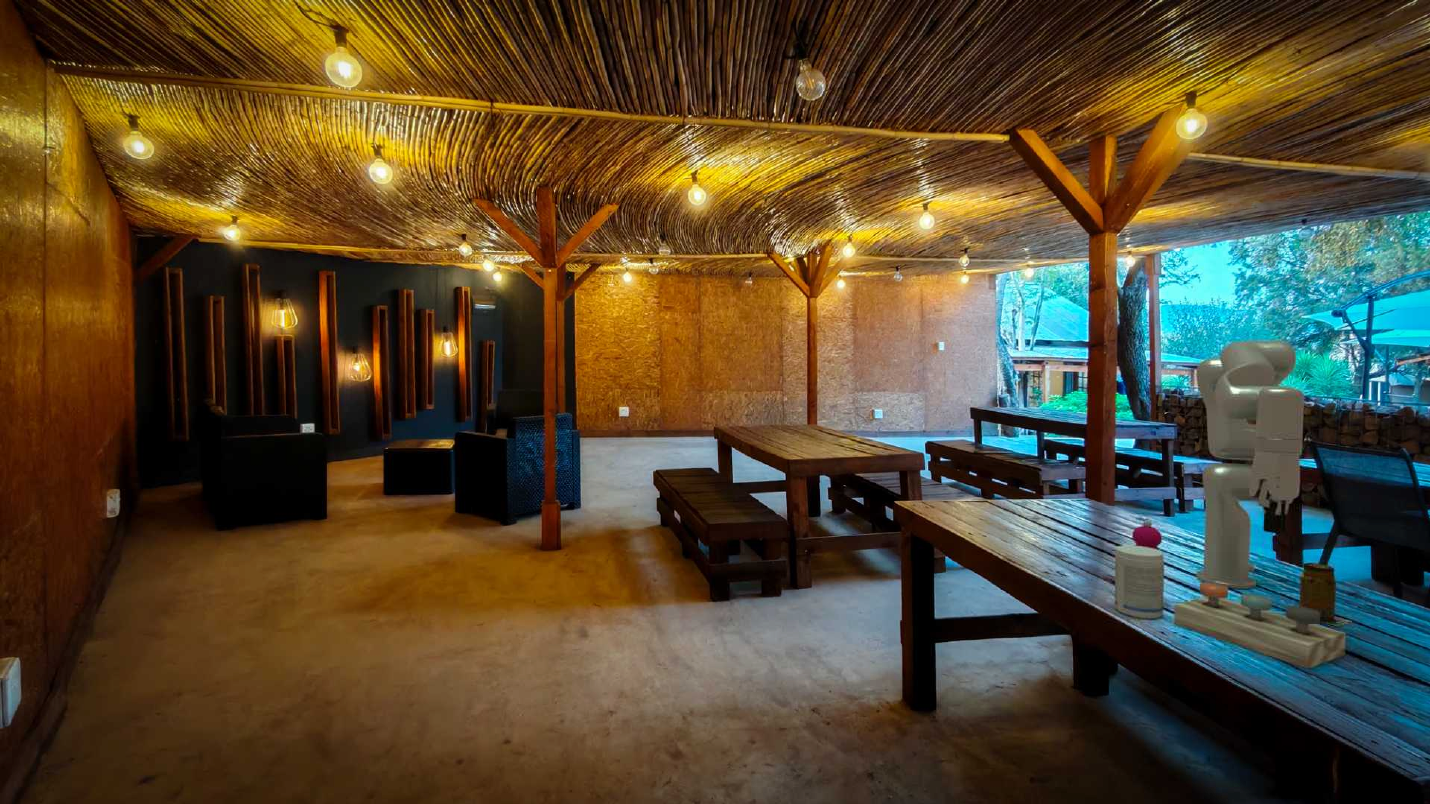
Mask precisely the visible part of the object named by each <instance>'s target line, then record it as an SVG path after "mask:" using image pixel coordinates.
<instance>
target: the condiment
mask: <svg viewBox="0 0 1430 804" xmlns="http://www.w3.org/2000/svg"><path fill="white" fill-rule="evenodd" d="M1302 572H1303V573H1302V574H1301V575H1300V581H1299V583H1300V584H1299V585H1300V586H1299V587H1300V588H1299V601H1298V603H1299V605H1298V606H1300V607H1306V608H1310V609H1313V610H1316V611H1318V612H1320V623H1323V624H1326V625H1332V626H1335V627H1341V625H1342V626H1344V625H1347V624H1348V623H1347V622H1350V623H1353V620H1349V619H1345V618H1343V617H1337V616H1336V598H1337V597H1336V595H1337V580H1336V579H1335V577H1336V575H1335V572H1336V571H1335V568H1334V566H1332V565H1327V564H1324V563H1319V562H1304V564H1303V569H1302ZM1335 619H1340V620H1335ZM1327 622H1328V623H1327ZM1336 622H1337V623H1336ZM1338 622H1343V624H1342V623H1338ZM1345 622H1346V623H1345Z"/></svg>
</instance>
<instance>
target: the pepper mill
mask: <svg viewBox="0 0 1430 804" xmlns="http://www.w3.org/2000/svg"><path fill="white" fill-rule="evenodd" d="M1152 524H1153V523H1152V521H1151V520H1149V519H1145V520H1143V522H1142V525H1141V526H1138V527H1136V528H1134V530H1133V531H1132V534H1131V535H1132V540H1133V542H1134V543H1135V544H1134V546H1142V547H1148V548H1153V549H1156V550H1159V551H1160V548H1159V547H1158V546H1160V544H1161V543H1162V539H1163V538H1162V533H1161V532H1160V531H1159V530H1158V529H1157V528H1155V527H1153V526H1152Z"/></svg>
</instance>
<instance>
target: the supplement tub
mask: <svg viewBox="0 0 1430 804" xmlns="http://www.w3.org/2000/svg"><path fill="white" fill-rule="evenodd" d="M1114 561H1115V562H1114V570H1115V572H1114V606H1115V609H1116V610H1117V611H1118V612H1120V613H1121V614H1124V615H1127V616H1130V617H1133V618H1139V619H1157V618H1160V617H1161V616H1162V615H1163V614H1164V588H1165V586H1164V585H1165V583H1164V582H1165V581H1164V580H1165V561H1164V553H1163V552H1162V551H1161V550H1160V549H1159V550H1156V549H1153V548H1148V547H1142V546H1135V545H1119V546H1117V547H1116V548H1115V558H1114Z"/></svg>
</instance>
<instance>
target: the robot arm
mask: <svg viewBox="0 0 1430 804" xmlns="http://www.w3.org/2000/svg"><path fill="white" fill-rule="evenodd" d="M1219 354H1220V355H1219V357H1218V356H1217V357H1212V358H1207V359H1203V360H1202V361H1201V362H1200V363H1199V364H1198V365H1197V368H1196V384H1197V388H1198V391H1199V394H1200V395H1201V398H1202V400H1203V403H1204V405H1205V408H1206V409H1205V410H1206V423H1207V425H1206V427H1207V429H1206V430H1207V445H1208V450H1209V452H1210V454H1211V456H1213V457H1215V458H1218V459H1222V460H1223V459H1224V460H1239V461H1252V464H1245V463H1227V462H1225V463H1224V462H1223V463H1222V462H1220V463H1214V464H1211V465H1209V466H1207V467H1206V468H1204V470H1203V473H1202V485H1203V491H1204V492H1203V493H1204V498H1205V499H1204V500H1205V515H1204V516H1205V517H1204V518H1205V519H1204V521H1205V522H1204V525H1205V526H1204V543H1203V544H1204V546H1203V547H1204V548H1203V552H1204V553H1203V570H1199V571H1196V574H1195V577H1196V578H1197V579H1198V580H1199V581H1201V582H1202V583H1215V584H1220V585H1223V586H1226V587H1227V588H1228V589H1241V590H1244V589H1245V590H1247V589H1253V588H1255V587H1257V581H1256V580H1255V579H1254V578H1251V577H1249V576H1250V572H1254V571H1255V570H1256V569H1255V566H1254V565H1253V564H1250V552H1251V551H1250V550H1251V531H1252V530H1251V527H1252V526H1251V525H1252V522H1251V521H1252V520H1251V517H1250V514H1249V513H1248V512H1247V510H1246V509H1245V508H1244V507H1242V505H1241V504H1240V502H1255V503H1256V502H1257V505H1258V506H1259V507H1262V513H1263V531H1264V532H1266V533H1272V534H1276V535H1282V534H1286V532H1287V519H1288V518H1287V517H1288V515H1287V514H1288V513H1289V505H1290V504H1292V503H1293V501H1294V499H1297V498H1298V497H1299V495H1300V486H1301V467H1300V456H1302V454H1303V453H1302V451H1303V433H1304V432H1303V431H1304V412H1305V411H1304V409H1305V408H1304V406H1305V394H1304V392H1303V391H1302V390H1300V389H1298V388H1294V387H1291V386H1285V385H1283V386H1281V385H1280V384H1282V382H1284V381H1285V379H1287V378H1288V377H1289V375H1290V374H1291V373H1292V372H1293V371H1294V369H1295V366H1296V362H1297V355H1296V351H1295V349H1294V347H1293V345H1291V344H1290V343H1288V342H1287V341H1285V340H1284V341H1283V340H1243V341H1242V340H1241V341H1236V342H1232V343H1229V344H1228V345H1226V346H1225V347H1223V348H1222V350H1221V352H1220V353H1219ZM1279 385H1280V386H1279ZM1248 420H1253V421H1255V424H1251V423H1249V422H1248Z"/></svg>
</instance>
